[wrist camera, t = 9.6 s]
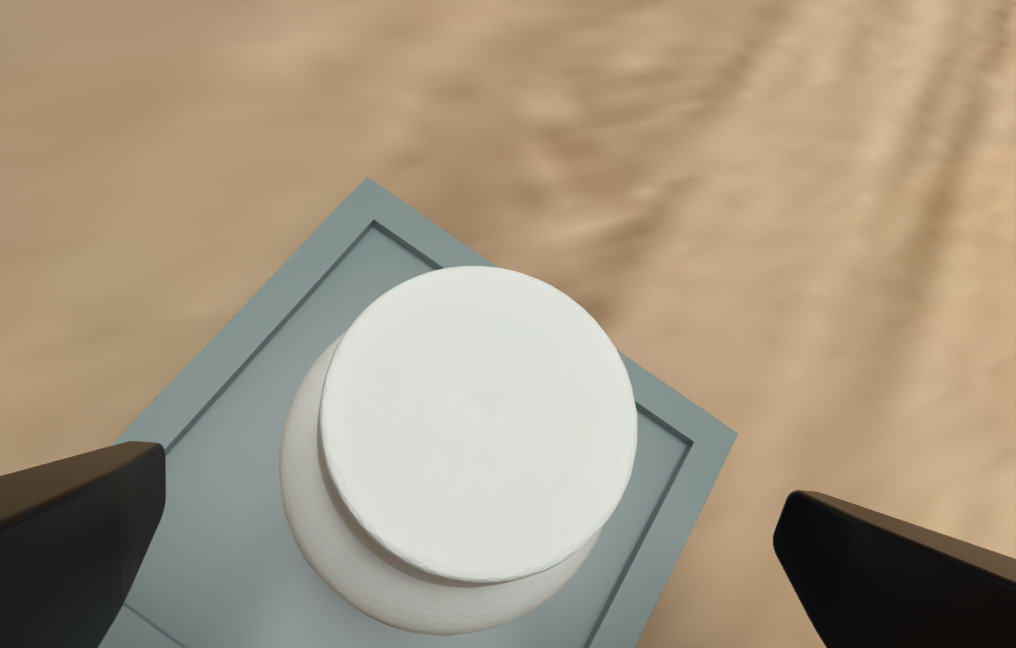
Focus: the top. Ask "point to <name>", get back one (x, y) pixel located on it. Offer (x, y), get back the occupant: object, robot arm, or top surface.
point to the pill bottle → (458, 450)
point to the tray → (256, 483)
